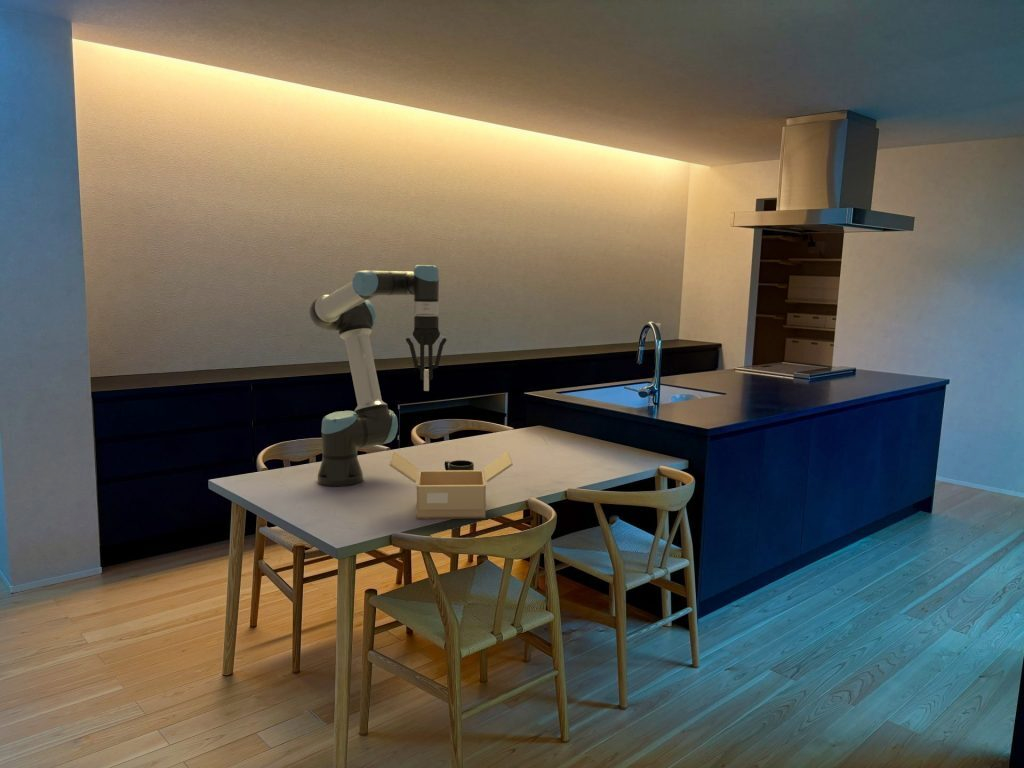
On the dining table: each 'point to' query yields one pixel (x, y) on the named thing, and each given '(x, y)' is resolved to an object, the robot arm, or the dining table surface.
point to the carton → (451, 494)
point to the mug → (459, 465)
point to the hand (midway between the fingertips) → (426, 390)
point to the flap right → (498, 466)
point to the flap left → (404, 467)
